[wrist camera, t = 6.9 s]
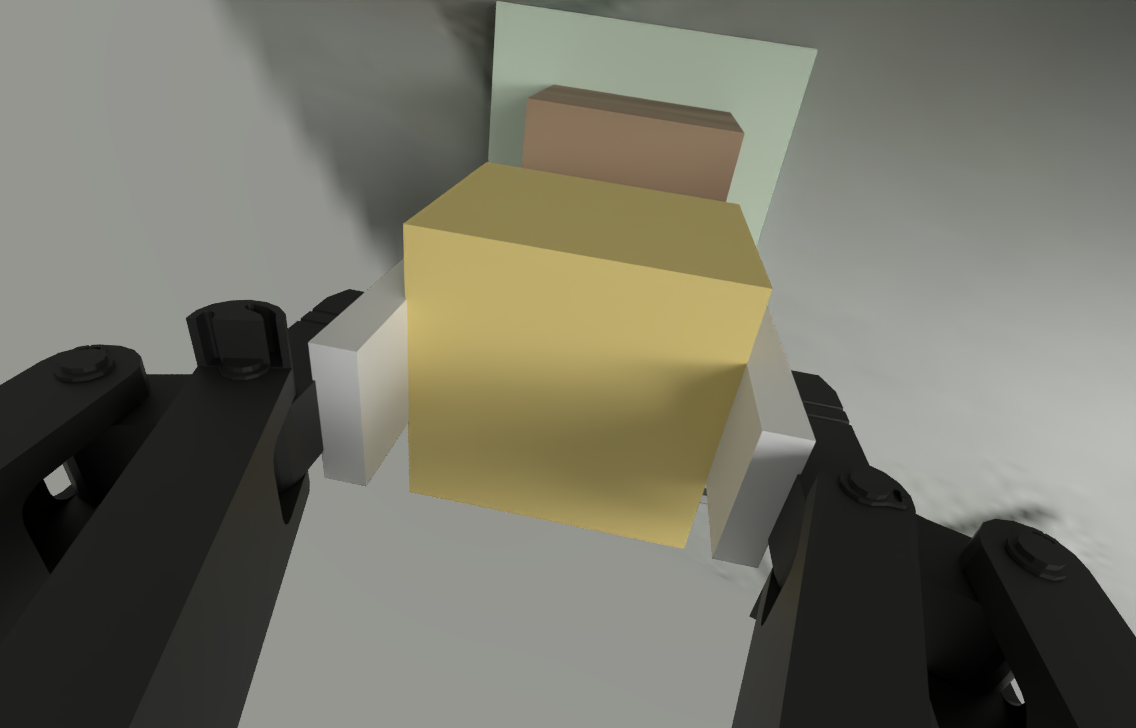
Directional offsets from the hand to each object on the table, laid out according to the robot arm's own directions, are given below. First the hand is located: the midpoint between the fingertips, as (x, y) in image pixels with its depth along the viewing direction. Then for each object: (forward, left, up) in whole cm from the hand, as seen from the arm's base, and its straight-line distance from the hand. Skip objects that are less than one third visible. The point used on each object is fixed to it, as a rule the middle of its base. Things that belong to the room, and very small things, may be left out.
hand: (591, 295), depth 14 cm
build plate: (0, 0, -13) cm, 13 cm away
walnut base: (0, 0, -11) cm, 11 cm away
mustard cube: (0, 0, 0) cm, 0 cm away
